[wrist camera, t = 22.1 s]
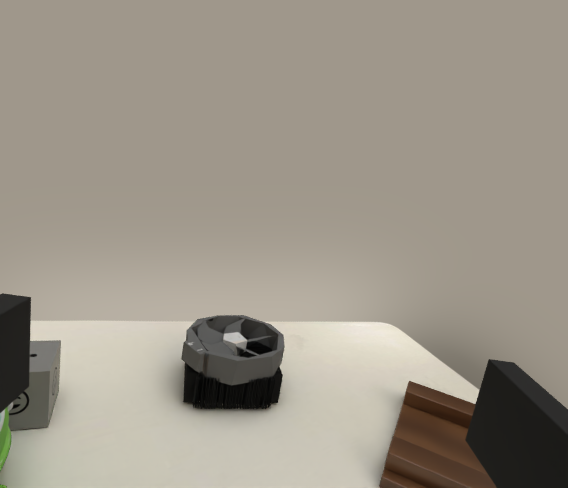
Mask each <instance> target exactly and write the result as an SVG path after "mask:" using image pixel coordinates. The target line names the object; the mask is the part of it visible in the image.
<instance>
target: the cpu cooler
mask: <svg viewBox="0 0 568 488" xmlns="http://www.w3.org/2000/svg"><path fill="white" fill-rule="evenodd" d="M283 352H284V337H283V334H281V333H280V332H279V331H278V330H277V329H276V328H274V327H273V326H272V325H271V324H268V323H265V322H262V321H259V320H256V319H253V318H250V317H247V316H244V315H240V316H239V315H238V316H237V315H233V316H231V315H230V316H229V315H226V316H213V317H208V318H202V319H197V320H196V321H195V323H194V324H193V325H192V326H191V327H190V328H189V329H188V330H187V335H186V341H185V342H184V345H183V352H182V360H183V361H184V362H185V378H184V401H183V402H193V407H194V402H195V408H196V404H198V408H199V400H200V407H201V409H202V404H203V407H204V400H205V408H206V409H207V404H208V409H210V407H211V409H212V406H213V408H214V409H215V406H218V408H219V409H220V406H221V409H222V404H223V408H224V409H225V406H226V409H228V407H229V409H230V407H231V409H232V406H234V409H235V408H236V405H237V409H238V404H239V407H240V409H241V405H242V408H243V409H244V406H245V409H246V407H247V409H249V406H250V409H252V406H253V409H254V406H255V407H256V409H258V407H261V405H262V409H263V407H264V406H265V409H266V407H267V405H268V408H269V407H270V405H271V403H278V399H279V393H280V388H281V382H282V376H283V375H282V374H281V373H282V372H281V370H280V367H279V366H280V364H281V362H282V357H283Z"/></svg>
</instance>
